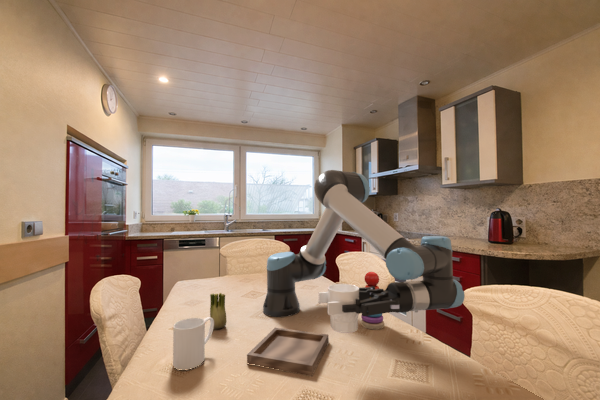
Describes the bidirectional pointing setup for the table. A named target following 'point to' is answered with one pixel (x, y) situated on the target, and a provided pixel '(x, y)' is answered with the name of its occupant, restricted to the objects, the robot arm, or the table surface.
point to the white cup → (348, 320)
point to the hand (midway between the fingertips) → (323, 302)
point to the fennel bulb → (218, 310)
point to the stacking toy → (367, 321)
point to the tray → (290, 351)
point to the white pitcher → (190, 342)
